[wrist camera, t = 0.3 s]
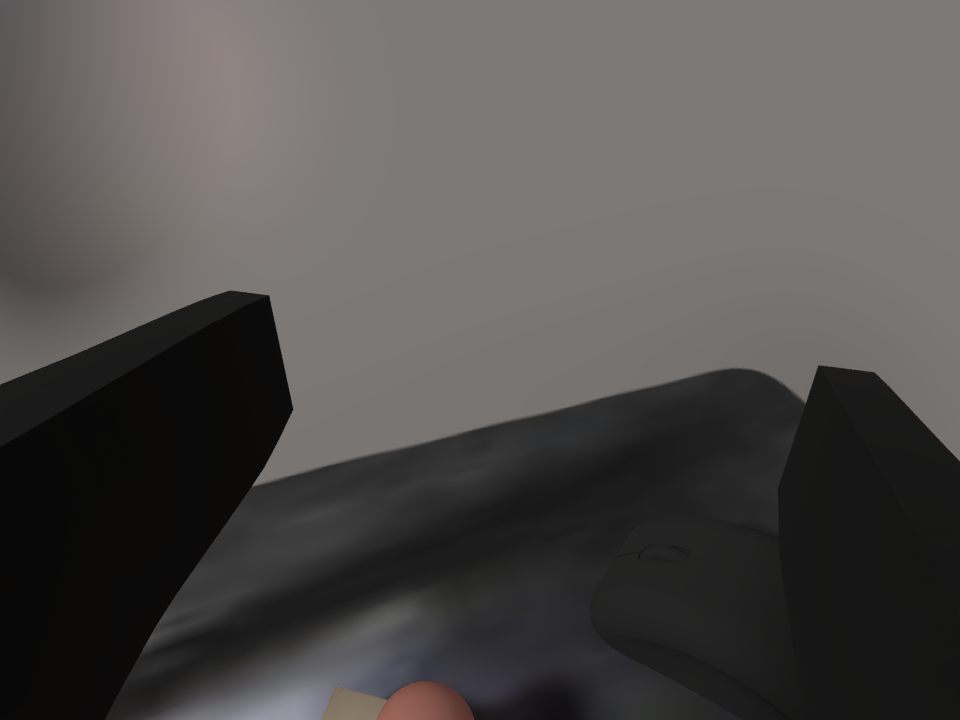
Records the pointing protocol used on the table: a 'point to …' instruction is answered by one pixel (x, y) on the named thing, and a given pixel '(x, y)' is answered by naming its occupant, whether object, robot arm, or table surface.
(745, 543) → the computer mouse
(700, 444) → the table surface
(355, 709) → the maple board
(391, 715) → the red ball
